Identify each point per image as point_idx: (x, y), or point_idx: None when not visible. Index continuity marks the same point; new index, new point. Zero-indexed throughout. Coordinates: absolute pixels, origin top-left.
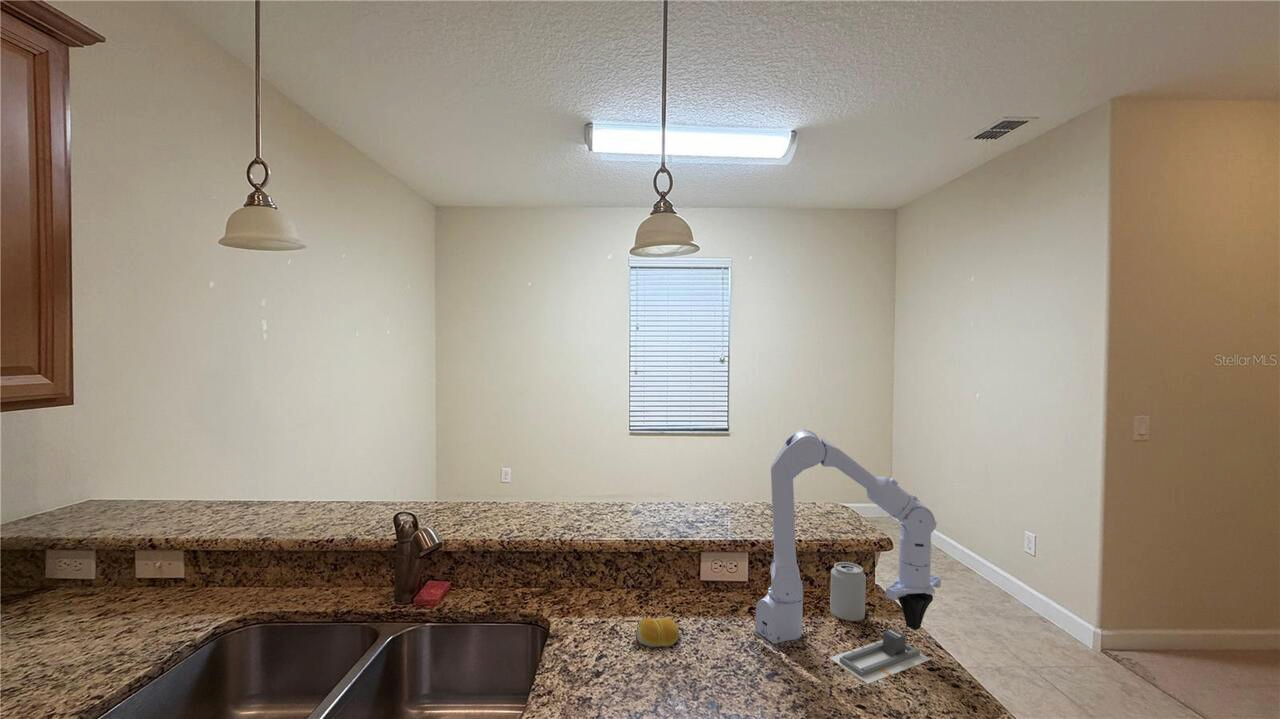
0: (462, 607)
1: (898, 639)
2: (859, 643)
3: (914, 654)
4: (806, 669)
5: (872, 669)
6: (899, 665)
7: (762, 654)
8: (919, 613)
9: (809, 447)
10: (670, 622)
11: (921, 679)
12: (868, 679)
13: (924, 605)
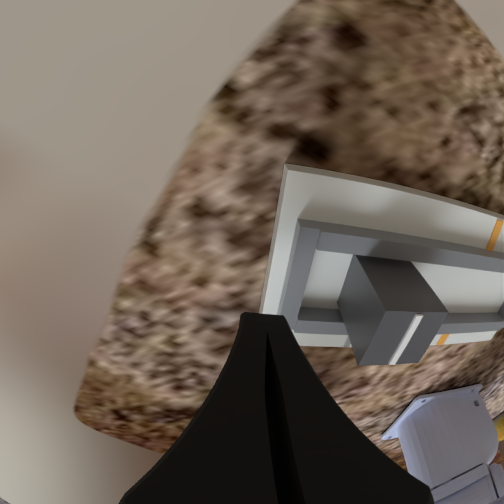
0: (497, 452)
1: (429, 306)
2: (347, 361)
3: (339, 229)
4: None
5: None
6: (439, 227)
7: (495, 380)
8: (302, 407)
9: None
10: (500, 435)
11: (418, 144)
12: None
13: (271, 474)
